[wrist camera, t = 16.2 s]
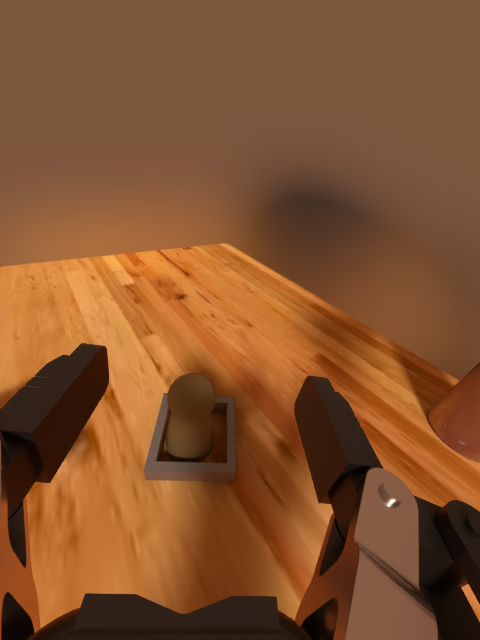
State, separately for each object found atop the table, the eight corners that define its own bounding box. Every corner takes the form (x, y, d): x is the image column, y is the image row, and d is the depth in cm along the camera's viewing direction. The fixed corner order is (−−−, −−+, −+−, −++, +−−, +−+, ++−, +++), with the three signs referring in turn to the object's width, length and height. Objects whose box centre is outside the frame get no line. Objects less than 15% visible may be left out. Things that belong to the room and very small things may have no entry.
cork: (222, 444, 31) (233, 391, 25) (182, 477, 28) (183, 424, 21) (196, 411, 35) (199, 357, 28) (156, 436, 31) (151, 381, 25)
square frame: (232, 406, 36) (234, 397, 35) (233, 481, 28) (236, 472, 27) (164, 403, 35) (164, 393, 34) (145, 479, 27) (143, 471, 26)
